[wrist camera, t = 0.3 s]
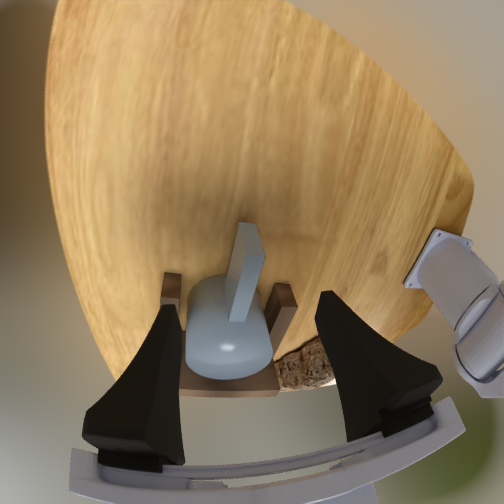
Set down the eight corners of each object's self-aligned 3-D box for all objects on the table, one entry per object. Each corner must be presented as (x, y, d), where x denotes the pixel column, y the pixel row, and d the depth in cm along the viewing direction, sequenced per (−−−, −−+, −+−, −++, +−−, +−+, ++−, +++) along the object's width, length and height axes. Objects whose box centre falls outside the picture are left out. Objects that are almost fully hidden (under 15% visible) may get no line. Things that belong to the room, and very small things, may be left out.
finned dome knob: (287, 219, 22) (314, 271, 16) (250, 327, 28) (260, 379, 23) (199, 207, 20) (196, 259, 15) (185, 323, 27) (183, 377, 21)
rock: (347, 310, 30) (367, 349, 25) (376, 338, 35) (392, 369, 30) (251, 371, 34) (258, 408, 30) (294, 388, 39) (302, 418, 35)
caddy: (289, 284, 25) (310, 343, 20) (264, 343, 30) (275, 396, 25) (164, 272, 23) (154, 337, 17) (163, 337, 28) (159, 393, 22)
